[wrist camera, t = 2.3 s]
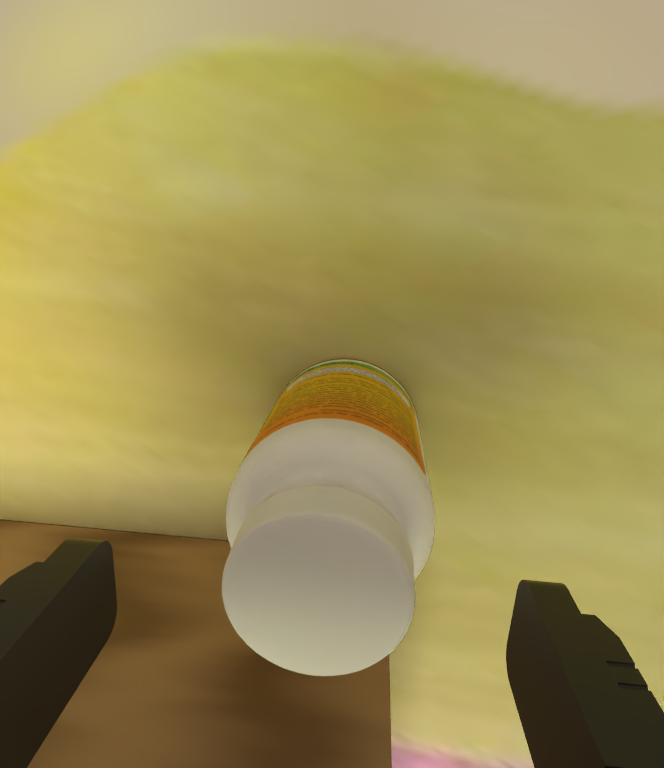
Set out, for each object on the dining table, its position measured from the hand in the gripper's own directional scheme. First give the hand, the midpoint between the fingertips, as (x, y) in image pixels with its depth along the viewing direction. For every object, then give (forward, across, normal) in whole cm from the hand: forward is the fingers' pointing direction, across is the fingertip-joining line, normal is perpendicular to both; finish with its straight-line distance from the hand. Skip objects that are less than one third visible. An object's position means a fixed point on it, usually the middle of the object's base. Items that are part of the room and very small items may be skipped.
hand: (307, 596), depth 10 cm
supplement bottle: (+10, 0, 0) cm, 10 cm away
